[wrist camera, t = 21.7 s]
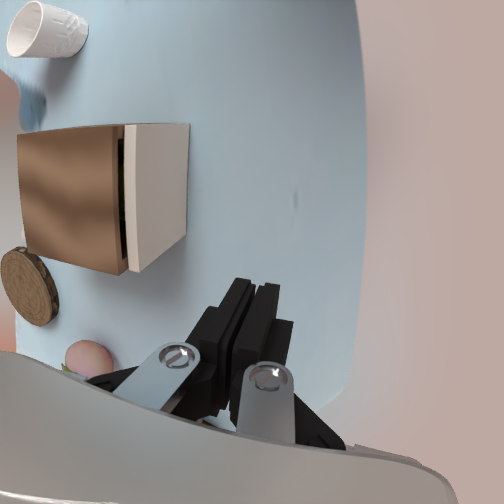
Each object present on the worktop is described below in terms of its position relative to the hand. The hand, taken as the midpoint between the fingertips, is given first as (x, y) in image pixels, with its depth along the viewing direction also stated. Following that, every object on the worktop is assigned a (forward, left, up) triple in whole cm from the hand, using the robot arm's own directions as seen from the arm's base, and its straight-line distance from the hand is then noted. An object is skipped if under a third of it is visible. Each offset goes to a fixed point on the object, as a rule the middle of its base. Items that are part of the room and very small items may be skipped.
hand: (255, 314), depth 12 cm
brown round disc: (+22, -48, -25) cm, 59 cm away
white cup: (-21, -34, -25) cm, 47 cm away
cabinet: (0, -22, -25) cm, 33 cm away
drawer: (0, -20, -25) cm, 32 cm away
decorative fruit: (+31, -31, -25) cm, 51 cm away
